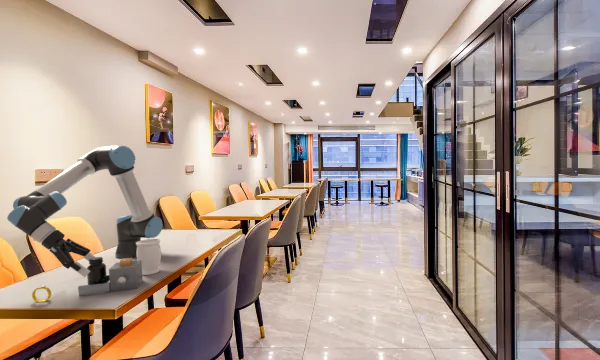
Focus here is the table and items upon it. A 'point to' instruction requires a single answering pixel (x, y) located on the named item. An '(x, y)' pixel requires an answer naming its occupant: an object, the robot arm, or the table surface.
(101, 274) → the supplement bottle
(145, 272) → the jar
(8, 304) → the table surface
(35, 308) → the table surface
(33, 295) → the watch
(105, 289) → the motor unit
